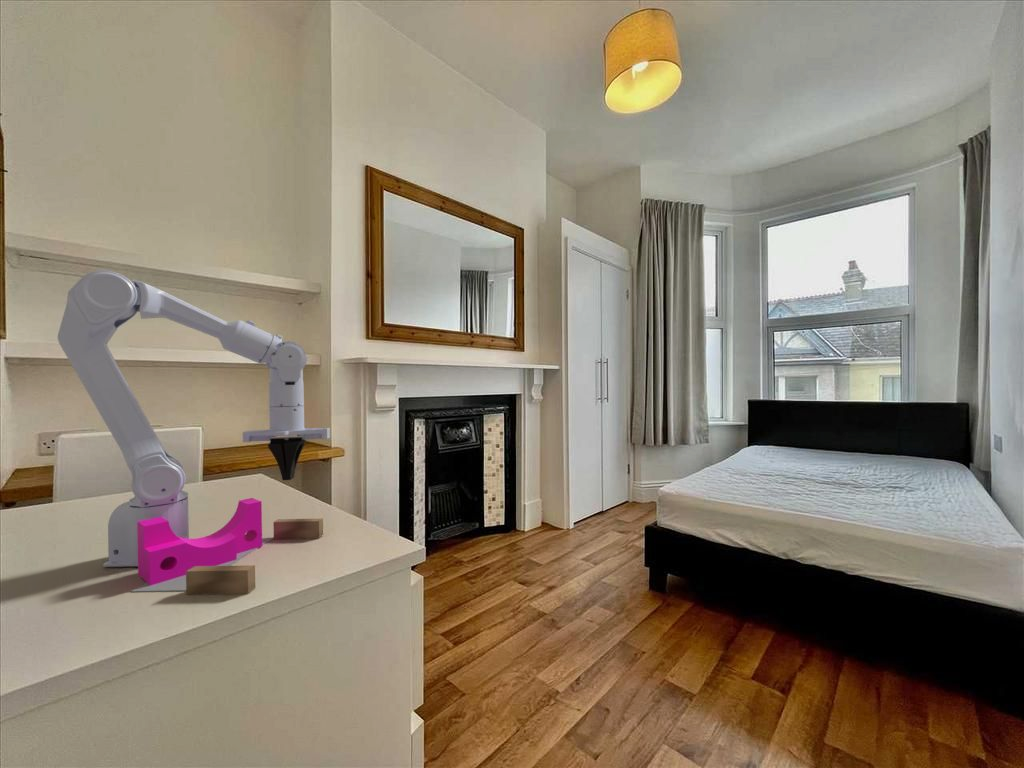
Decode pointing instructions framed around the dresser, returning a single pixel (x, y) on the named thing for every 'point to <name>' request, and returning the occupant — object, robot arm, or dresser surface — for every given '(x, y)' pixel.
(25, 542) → the dresser surface
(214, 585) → the pair of brown pieces
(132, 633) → the dresser surface
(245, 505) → the toy block
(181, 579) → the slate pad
